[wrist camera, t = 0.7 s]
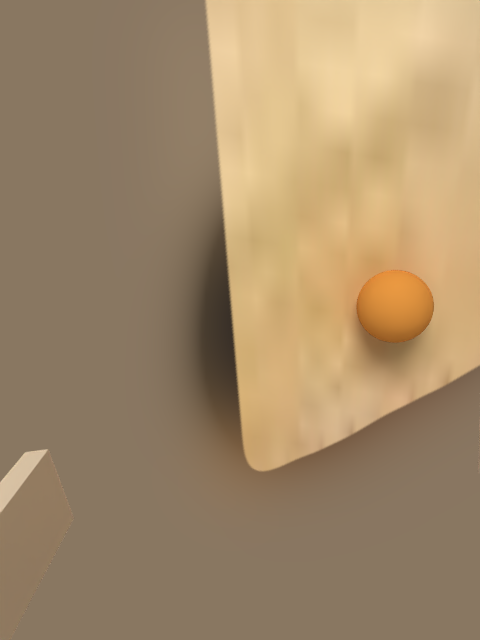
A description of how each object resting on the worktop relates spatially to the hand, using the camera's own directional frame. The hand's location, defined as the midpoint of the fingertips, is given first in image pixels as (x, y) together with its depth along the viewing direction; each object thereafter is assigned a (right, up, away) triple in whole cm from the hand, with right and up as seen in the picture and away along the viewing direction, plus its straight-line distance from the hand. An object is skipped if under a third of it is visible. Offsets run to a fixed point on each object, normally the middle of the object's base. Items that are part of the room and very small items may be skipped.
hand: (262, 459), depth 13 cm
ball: (+11, +5, +19) cm, 22 cm away
